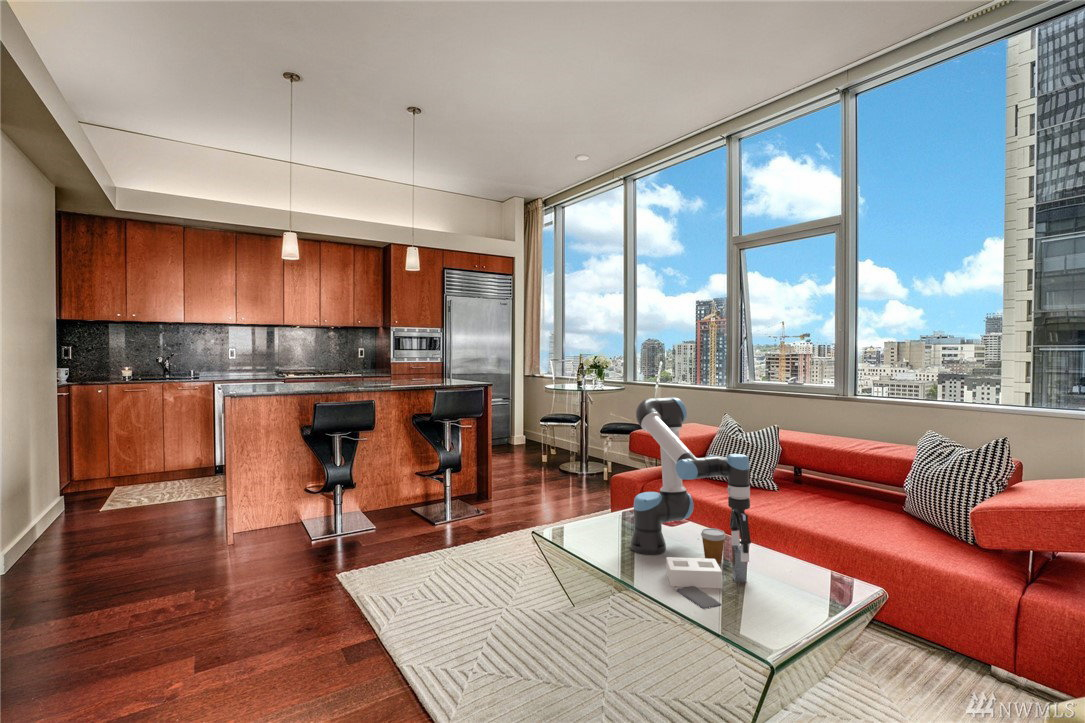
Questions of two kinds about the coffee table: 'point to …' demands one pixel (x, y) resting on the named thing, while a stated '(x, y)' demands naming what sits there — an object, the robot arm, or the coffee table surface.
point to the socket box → (694, 572)
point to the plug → (738, 565)
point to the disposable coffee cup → (713, 543)
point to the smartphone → (698, 597)
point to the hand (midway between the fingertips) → (740, 554)
